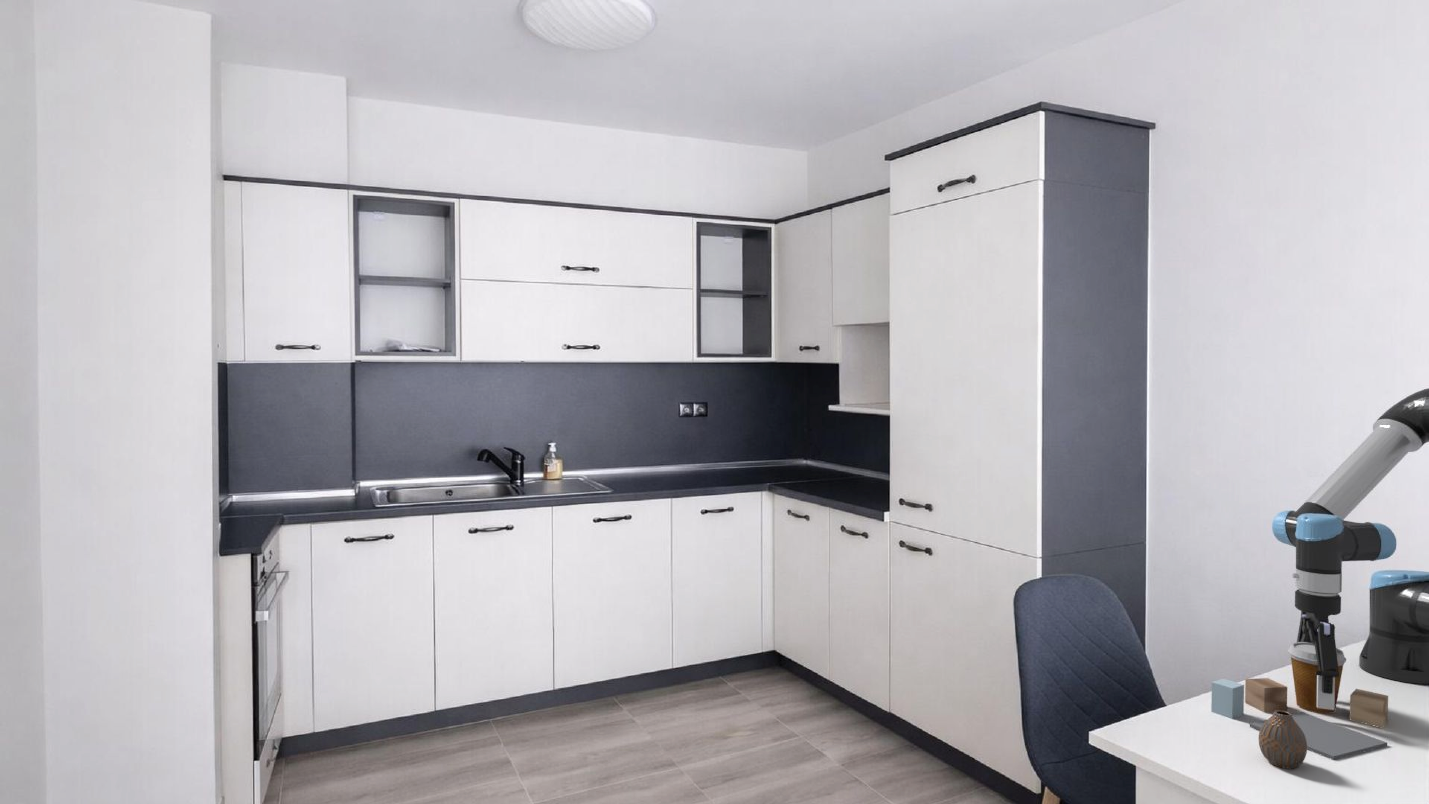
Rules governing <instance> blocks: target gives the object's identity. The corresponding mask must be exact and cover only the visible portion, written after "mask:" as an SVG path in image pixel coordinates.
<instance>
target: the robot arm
mask: <svg viewBox="0 0 1429 804" xmlns="http://www.w3.org/2000/svg"><path fill="white" fill-rule="evenodd" d="M1372 430H1373V431H1372V432H1371V433H1370V434H1369V435H1368V436H1367V437H1366V438H1365V439H1364V440H1363V441H1362V443H1361V444H1359V446H1357V448H1356V449H1355V450H1354V451H1353V452H1351V454H1350V455H1349V456H1348V457H1347V458H1346V459H1345V460H1344V461H1343V462H1342V463H1341V464H1340V465H1339V466H1338V468H1336V469H1335V471H1333V473H1331V474H1330V475H1329V477H1328V478H1327V479H1326V480H1325V481H1323V483H1322V484H1321V485H1319V487H1318V488H1317V489H1316V490H1315V491H1314V492H1313V493H1312V494H1311V495H1310V496H1309V498H1308V499H1307V500H1306V501H1304V502H1303V504H1302V505H1301V506H1300V507H1299V508H1298V509H1297V510H1296V511H1295V510H1284V511H1280V512H1278V513H1277V514H1276V515H1275V516H1274V518H1273V521H1272V524H1271V530H1272V533H1273V536H1274V537H1275V538H1276V540H1277V541H1279V542H1280V543H1282V544H1286V545H1289V546H1292V547H1295V573H1292V574H1291V575H1292V578H1294V579H1295V587H1296V588H1297V589H1296V590H1295V591H1294V607H1295V608H1296V609H1297V610H1298V611H1300V621H1299V627H1298V633H1297V638H1296V639H1297V640H1296V642H1310V643H1314V645H1315V651H1316V657H1317V663H1318V669H1319V671H1316V672H1315V675H1317V708H1322V709H1329V710H1334V704H1335V677H1339V670H1338V661H1337V652H1336V648H1337V645H1336V644H1337V643H1336V634H1335V633H1336V631H1335V629H1336V626H1335V624H1334V623H1331V622H1330V620H1329V617H1330V616H1337V615H1339V614H1340V613H1341V612H1342V597H1341V595H1340V593H1342V592H1343V591H1342V589H1343V588H1342V583H1343V572H1342V571H1343V570H1342V569H1343V562H1362V561H1363V562H1367V561H1368V562H1369V561H1370V562H1374V561H1381V560H1385V559H1386V560H1387V559H1388V558H1391V556H1393V555H1394V553H1395V552H1396V550H1397V537H1396V534H1395V533H1394V532H1393V531H1392V529H1391V528H1390V527H1388V526H1387V525H1385V524H1383V523H1379V522H1370V521H1365V522H1356V521H1350V520H1344V519H1346V518H1347V517H1348V516H1349V515H1350V514H1351V513H1352V511H1354V510H1355V508H1357V507H1358V505H1360V503H1361V502H1363V500H1364V499H1365V498H1366V497H1367V496H1368V495H1369V494H1370V493H1371V492H1372V491H1373V490H1374V488H1376V487H1377V486H1378V485H1379V483H1380V482H1382V481H1383V479H1385V477H1386V476H1387V475H1389V473H1390V472H1391V471H1392V470H1393V469H1394V468H1395V467H1396V466H1397V465H1398V464H1399V463H1400V462H1401V460H1402V459H1404V458H1405V456H1406V455H1408V453H1415V452H1418V450H1421V448H1422V447H1423V446H1424V445H1425V444H1427V443H1429V388H1425V389H1422V390H1418V391H1416V392H1414V393H1412V394H1409V395H1408V396H1406V397H1405V398H1403V399H1401V400H1399V401H1398V402H1397V403H1396V404H1395V403H1394V404H1393V406H1391V407H1389V408H1388V409H1387V410H1386V411H1385V412H1384V413H1383V414H1381V416H1379V417H1378V418H1377V419H1376V420H1375V422H1374V423H1373V424H1372ZM1368 590H1369V631H1368V632H1369V634H1368V636H1367V638H1366V641H1365V642H1364V646H1363V647H1362V649H1361V652H1360V653H1359V656H1358V661H1359V663H1358V667H1360V668H1361V670H1363V671H1365V672H1367V673H1369V674H1372V675H1374V676H1377V677H1381V678H1384V679H1389V680H1394V681H1396V682H1397V681H1399V682H1404V683H1409V684H1410V683H1412V684H1419V685H1421V684H1422V685H1429V571H1421V570H1404V569H1403V570H1402V569H1401V570H1400V569H1399V570H1397V569H1396V570H1395V569H1391V570H1390V569H1387V570H1386V569H1385V570H1378V571H1375V572H1373V573H1372V575H1371V577H1370V586H1369V588H1368ZM1327 668H1329V669H1330V670H1329V669H1327Z"/></svg>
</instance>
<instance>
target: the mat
mask: <svg viewBox="0 0 1429 804" xmlns="http://www.w3.org/2000/svg"><path fill="white" fill-rule="evenodd" d="M1290 714H1291V715H1292V717H1293V719H1294V721H1295V722H1296V723H1297V724H1298V726H1299V727H1300V728H1301V730H1302V731H1303V733H1304V735H1305V738H1306V741H1307V751H1311V752H1312V751H1313V753H1316V754H1318V755H1320V754H1321V756H1323V757H1326V758H1328V759H1330V758H1331V760H1332V761H1333V760H1338V759H1342V758H1346V757H1349V756H1350V757H1351V756H1353V754H1354V755H1358V754H1360V753H1365V752H1369V751H1373V750H1376V748H1377V749H1380V748H1384V747H1388V741H1384V740H1382V739H1379V738H1376V737H1373V736H1370V735H1368V734H1365V733H1361V732H1359V731H1356V730H1353V729H1351V728H1348V727H1346V726H1343V725H1339V724H1337V723H1334V722H1332V721H1328V720H1326V719H1323V718H1320V717H1318V716H1314V715H1311V714H1309V713H1307V712H1306V713H1305V712H1304V711H1301V712H1296V713H1290ZM1267 720H1268V719H1264V720H1259V721H1255V722H1251V723H1249V728H1253V729H1254V730H1256V731H1259V732H1260V729H1261V727H1262V725H1263V724H1264V723H1265V722H1266V721H1267ZM1372 749H1373V750H1372ZM1364 751H1365V752H1364ZM1341 757H1342V758H1341Z"/></svg>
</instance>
